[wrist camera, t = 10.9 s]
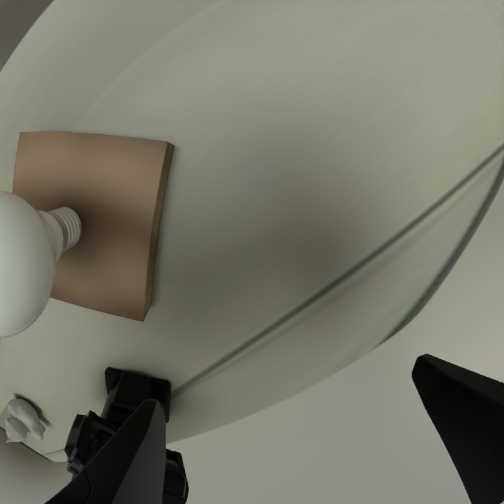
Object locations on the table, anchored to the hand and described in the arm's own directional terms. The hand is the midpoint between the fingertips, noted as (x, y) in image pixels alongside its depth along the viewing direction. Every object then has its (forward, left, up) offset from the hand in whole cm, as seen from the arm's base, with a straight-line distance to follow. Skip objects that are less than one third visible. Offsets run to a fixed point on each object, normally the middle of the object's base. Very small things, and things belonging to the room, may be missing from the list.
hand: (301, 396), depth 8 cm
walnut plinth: (+1, +13, -13) cm, 18 cm away
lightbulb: (+1, +13, -11) cm, 17 cm away
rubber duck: (-27, +25, -13) cm, 39 cm away
